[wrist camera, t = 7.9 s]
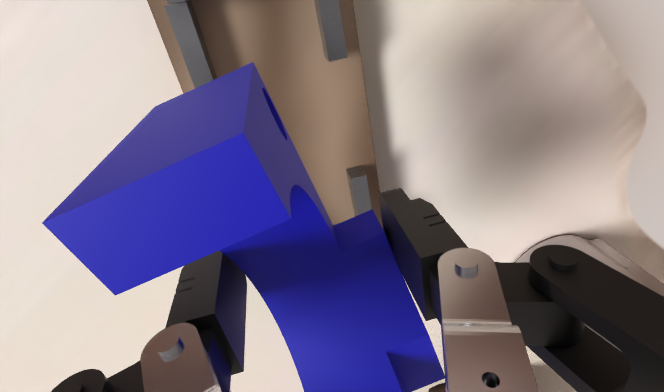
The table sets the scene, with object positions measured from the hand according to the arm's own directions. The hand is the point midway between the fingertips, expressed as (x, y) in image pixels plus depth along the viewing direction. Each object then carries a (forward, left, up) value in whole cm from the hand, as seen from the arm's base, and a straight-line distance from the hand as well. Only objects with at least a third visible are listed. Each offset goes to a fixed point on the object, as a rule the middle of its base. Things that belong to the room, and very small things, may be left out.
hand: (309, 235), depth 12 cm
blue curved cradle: (0, 0, -1) cm, 1 cm away
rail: (0, 0, -13) cm, 13 cm away
